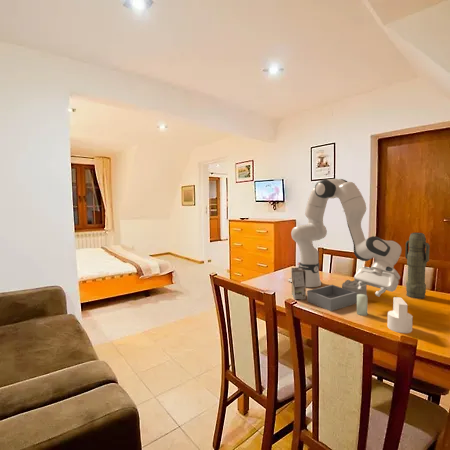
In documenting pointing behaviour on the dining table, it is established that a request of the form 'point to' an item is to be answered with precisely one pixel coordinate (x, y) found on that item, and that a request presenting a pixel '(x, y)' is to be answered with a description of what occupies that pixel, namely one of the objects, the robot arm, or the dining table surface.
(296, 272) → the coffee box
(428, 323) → the dining table surface
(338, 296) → the tote
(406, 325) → the base with upright slab
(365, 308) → the tin
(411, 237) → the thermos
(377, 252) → the robot arm
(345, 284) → the lumpy-topped squat cylinder
